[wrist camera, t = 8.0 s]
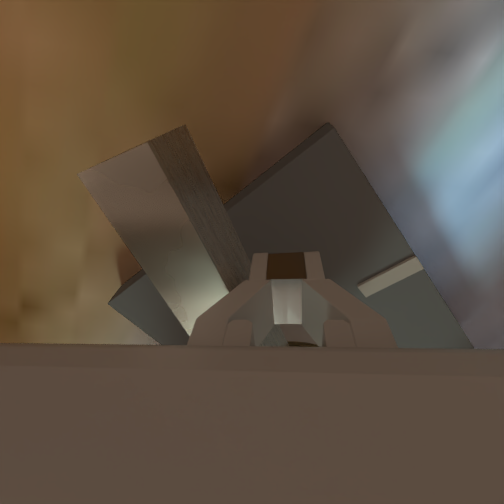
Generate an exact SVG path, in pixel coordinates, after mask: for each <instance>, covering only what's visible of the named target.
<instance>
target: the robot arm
mask: <svg viewBox="0 0 504 504" xmlns="http://www.w3.org/2000/svg"><path fill="white" fill-rule="evenodd" d="M274 324H302V326H303V327H304V329H305V330H306V331H307V332H308V334H309V335H310V336H311V337H312V339H313V340H314V341H315V342H316V344H317V345H318V346H319V347H279V346H259V345H260V344H261V342H262V341H263V339H264V338H265V337H266V335H267V334H268V333H269V331H270V330H271V329H272V327H273V326H274ZM0 504H504V349H445V348H398V346H397V344H396V342H395V339H394V337H393V335H392V332H391V330H390V328H389V325H388V323H387V321H386V319H385V318H384V317H382V316H381V315H380V314H378V313H377V312H375V311H374V310H373V309H371V308H370V307H368V306H367V305H366V304H364V303H363V302H361V301H360V300H359V299H357V298H356V297H354V296H353V295H352V294H350V293H349V292H347V291H346V290H345V289H343V288H342V287H340V286H339V285H338V284H336V283H335V282H333V281H332V280H331V279H325V276H324V271H323V266H322V262H321V257H320V253H319V251H311V252H294V253H254V254H253V257H252V263H251V269H250V275H249V280H244V281H243V282H242V283H241V284H239V285H238V286H237V287H235V288H234V289H233V290H232V291H230V292H229V293H228V294H227V295H225V296H224V297H223V298H222V299H220V300H219V301H218V302H217V303H215V304H214V305H213V306H211V307H210V308H209V309H208V310H206V311H205V312H204V313H203V314H201V315H200V316H199V317H198V318H196V321H195V324H194V326H193V329H192V332H191V335H190V337H189V340H188V343H187V345H119V344H39V343H0Z"/></svg>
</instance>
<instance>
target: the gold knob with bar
mask: <svg viewBox="0 0 504 504" xmlns="http://www.w3.org/2000/svg"><path fill="white" fill-rule="evenodd" d="M77 175H78V176H79V178H80V179H81V181H82V182H83V184H84V185H85V187H86V188H87V189H88V191H89V192H90V194H91V195H92V197H93V198H94V199H95V201H96V202H97V204H98V205H99V207H100V208H101V210H102V211H103V212H104V214H105V215H106V217H107V218H108V220H109V221H110V222H111V224H112V225H113V227H114V228H115V230H116V231H117V233H118V234H119V235H120V237H121V238H122V240H123V241H124V243H125V244H126V246H127V247H128V248H129V250H130V251H131V253H132V254H133V256H134V257H135V258H136V260H137V261H138V263H139V264H140V266H141V267H142V269H143V270H144V271H145V273H146V274H147V276H148V277H149V279H150V280H151V281H152V283H153V284H154V286H155V287H156V289H157V290H158V292H159V293H160V294H161V296H162V297H163V299H164V300H165V302H166V303H167V304H168V306H169V307H170V309H171V310H172V312H173V313H174V315H175V316H176V317H177V319H178V320H179V322H180V323H181V325H182V326H183V328H184V329H185V330H186V332H187V333H188V335H189V336H190V335H191V332H192V329H193V326H194V324H195V321H196V318H198V317H199V316H200V315H201V314H203V313H204V312H205V311H206V310H208V309H209V308H210V307H211V306H213V305H214V304H215V303H217V302H218V301H219V300H220V299H222V298H223V297H224V296H225V295H227V294H228V293H229V292H230V291H232V290H233V289H234V288H235V287H237V286H238V285H239V284H241V283H242V282H243V281H244V280H249V275H250V269H251V263H250V261H249V259H248V257H247V254H246V252H245V250H244V248H243V246H242V244H241V242H240V240H239V237H238V235H237V233H236V231H235V229H234V227H233V225H232V222H231V220H230V218H229V216H228V214H227V212H226V210H225V208H224V205H223V203H222V201H221V199H220V197H219V195H218V193H217V190H216V188H215V186H214V184H213V182H212V180H211V178H210V176H209V173H208V171H207V169H206V167H205V165H204V163H203V161H202V158H201V156H200V154H199V152H198V150H197V148H196V146H195V144H194V141H193V139H192V137H191V135H190V133H189V131H188V129H187V127H186V124H184V125H182V126H180V127H178V128H176V129H173V130H171V131H169V132H167V133H165V134H162V135H160V136H158V137H156V138H154V139H151V140H149V141H147V142H145V143H143V144H140V145H138V146H136V147H134V148H132V149H129V150H127V151H125V152H123V153H121V154H119V155H117V156H114V157H112V158H110V159H108V160H106V161H104V162H102V163H100V164H97V165H95V166H93V167H91V168H89V169H87V170H85V171H83V172H80V173H78V174H77ZM259 346H279V347H319V346H318V345H316V344H311V343H306V342H296V341H287V340H286V338H285V336H284V333H283V331H282V329H281V327H280V325H279V324H274V326H273V327H272V329H271V330H270V331H269V333H268V334H267V335H266V337H265V338H264V339H263V341H262V342H261V344H260V345H259Z"/></svg>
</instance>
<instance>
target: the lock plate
mask: <svg viewBox="0 0 504 504" xmlns="http://www.w3.org/2000/svg"><path fill="white" fill-rule="evenodd" d="M224 208H225V210H226V212H227V214H228V216H229V218H230V220H231V222H232V225H233V227H234V229H235V231H236V233H237V235H238V237H239V240H240V242H241V244H242V246H243V248H244V250H245V252H246V254H247V257H248V259H249V261H250V263H252V257H253V254H254V253H294V252H311V251H319V253H320V257H321V262H322V266H323V271H324V276H325V279H331V280H332V281H333V282H335V283H336V284H338V285H339V286H340V287H342V288H343V289H345V290H346V291H347V292H349V293H350V294H352V295H353V296H354V297H356V298H357V299H359V300H360V301H361V302H363V303H364V304H366V305H367V306H368V307H370V308H371V309H373V310H374V311H375V312H377V313H378V314H380V315H381V316H382V317H384V318H385V319H386V321H387V323H388V325H389V328H390V330H391V332H392V335H393V337H394V339H395V342H396V344H397V346H398V348H445V349H474V347H473V346H472V344H471V343H470V341H469V339H468V338H467V336H466V335H465V333H464V331H463V330H462V328H461V327H460V325H459V324H458V322H457V320H456V319H455V317H454V316H453V314H452V313H451V311H450V309H449V308H448V306H447V305H446V303H445V302H444V300H443V298H442V297H441V295H440V294H439V292H438V290H437V289H436V287H435V286H434V284H433V283H432V281H431V279H430V278H429V276H428V275H427V273H426V272H425V270H424V268H423V266H422V265H421V263H420V262H419V260H418V258H417V257H416V256H415V254H414V253H413V251H412V249H411V248H410V246H409V245H408V243H407V242H406V240H405V238H404V237H403V235H402V234H401V232H400V231H399V229H398V227H397V226H396V224H395V223H394V221H393V219H392V218H391V216H390V215H389V213H388V212H387V210H386V208H385V207H384V205H383V204H382V202H381V201H380V199H379V197H378V196H377V194H376V193H375V191H374V190H373V188H372V186H371V185H370V183H369V182H368V180H367V178H366V177H365V175H364V174H363V172H362V171H361V169H360V167H359V166H358V164H357V163H356V161H355V160H354V158H353V156H352V155H351V153H350V152H349V150H348V149H347V147H346V145H345V144H344V142H343V141H342V139H341V137H340V136H339V134H338V133H337V131H336V130H335V128H334V127H333V126H332V125H330V124H329V123H326V124H325V125H324V126H322V127H321V128H320V129H319V130H317V131H316V132H315V133H314V134H312V135H311V136H310V137H309V138H307V139H306V140H305V141H304V142H302V143H301V144H300V145H298V146H297V147H296V148H295V149H293V150H292V151H291V152H290V153H288V154H287V155H286V156H285V157H283V158H282V159H281V160H280V161H278V162H277V163H276V164H274V165H273V166H272V167H271V168H269V169H268V170H267V171H266V172H264V173H263V174H262V175H261V176H259V177H258V178H257V179H256V180H254V181H253V182H252V183H250V184H249V185H248V186H247V187H245V188H244V189H243V190H242V191H240V192H239V193H238V194H237V195H235V196H234V197H233V198H232V199H230V200H229V201H228V202H226V203H225V204H224ZM108 305H110V306H111V307H112V308H114V309H115V310H116V311H118V312H119V313H120V314H122V315H123V316H124V317H126V318H127V319H128V320H130V321H131V322H132V323H133V324H135V325H136V326H137V327H139V328H140V329H141V330H143V331H144V332H145V333H147V334H148V335H149V336H151V337H152V338H153V339H155V340H156V341H157V342H159V343H160V344H161V345H187V343H188V340H189V337H190V336H189V335H188V333H187V332H186V330H185V329H184V328H183V326H182V325H181V323H180V322H179V320H178V319H177V317H176V316H175V315H174V313H173V312H172V310H171V309H170V307H169V306H168V304H167V303H166V302H165V300H164V299H163V297H162V296H161V294H160V293H159V292H158V290H157V289H156V287H155V286H154V284H153V283H152V281H151V280H150V279H149V277H148V276H147V274H146V273H145V271H144V270H143V269H142V270H141V271H139V272H138V273H137V274H136V275H134V276H133V277H132V278H130V279H129V280H128V281H127V282H125V283H124V284H123V285H122V286H121V287H120V288H119V289H118V291H117V292H116V293H115V295H114V296H113V297H112V298H111V300H110V301H109V302H108ZM279 325H280V327H281V329H282V331H283V333H284V336H285V338H286V340H287V341H296V342H306V343H311V344H316V342H315V341H314V340H313V339H312V337H311V336H310V335H309V334H308V332H307V331H306V330H305V329H304V327H303V326H302V324H279ZM316 345H317V344H316Z"/></svg>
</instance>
